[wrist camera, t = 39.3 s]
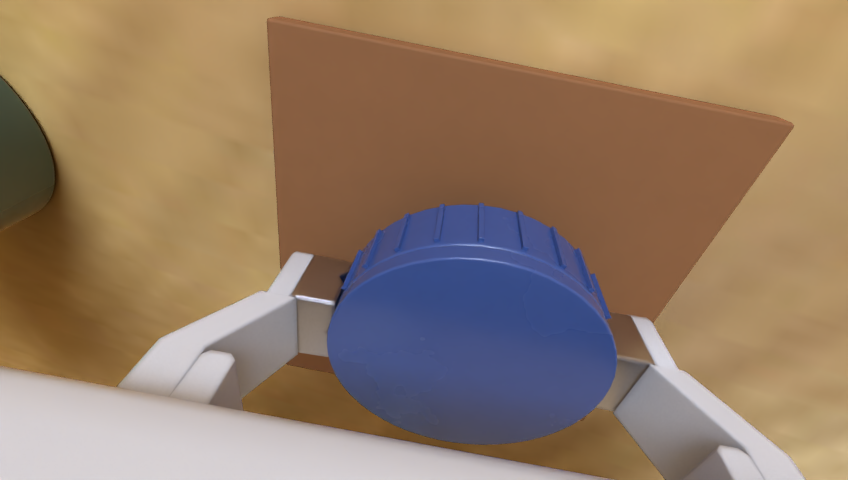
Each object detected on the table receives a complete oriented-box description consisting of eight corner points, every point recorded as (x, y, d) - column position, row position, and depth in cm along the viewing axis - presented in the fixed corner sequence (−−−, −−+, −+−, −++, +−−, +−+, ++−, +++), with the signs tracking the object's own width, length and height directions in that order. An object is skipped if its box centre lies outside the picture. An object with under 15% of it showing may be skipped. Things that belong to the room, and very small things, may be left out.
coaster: (579, 406, 14) (583, 421, 14) (291, 351, 14) (284, 364, 14) (777, 116, 8) (797, 124, 8) (277, 15, 8) (265, 17, 8)
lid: (355, 174, 8) (324, 222, 6) (648, 234, 8) (687, 297, 6) (343, 357, 12) (322, 417, 10) (545, 400, 12) (554, 466, 10)
